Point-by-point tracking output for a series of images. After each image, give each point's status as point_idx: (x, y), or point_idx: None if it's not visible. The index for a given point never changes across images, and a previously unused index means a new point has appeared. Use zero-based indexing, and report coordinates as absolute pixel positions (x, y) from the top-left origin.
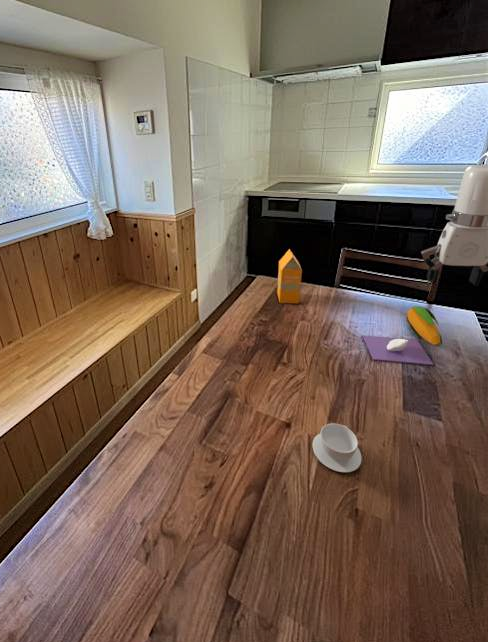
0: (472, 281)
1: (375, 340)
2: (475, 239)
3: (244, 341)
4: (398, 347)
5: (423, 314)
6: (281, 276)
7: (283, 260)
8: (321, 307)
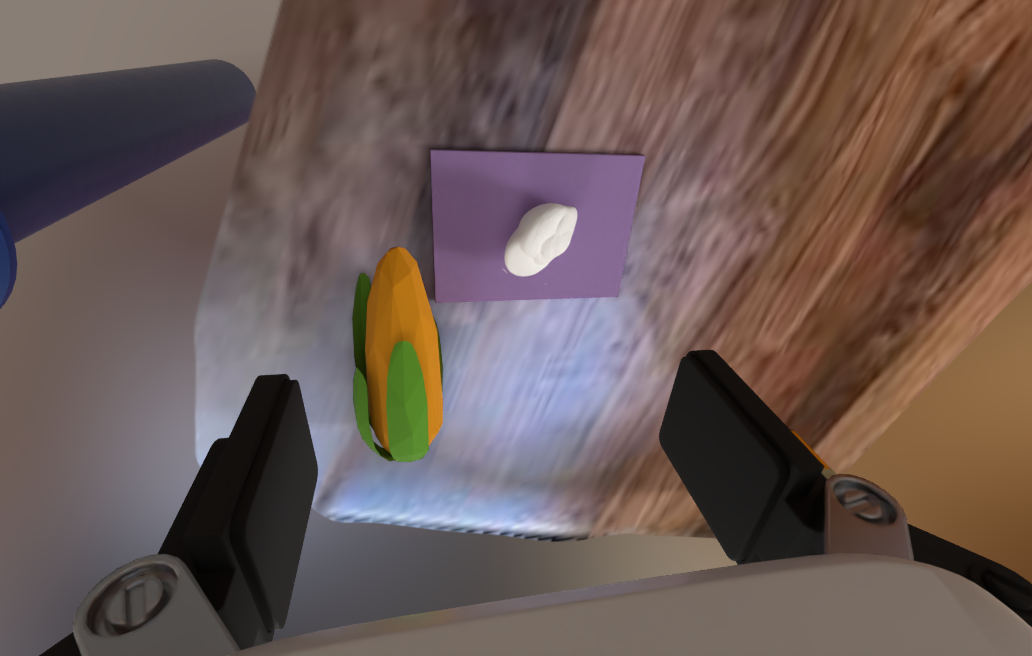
0: (303, 440)
1: (588, 274)
2: None
3: (1009, 207)
4: (558, 204)
5: (413, 401)
6: None
7: None
8: None
